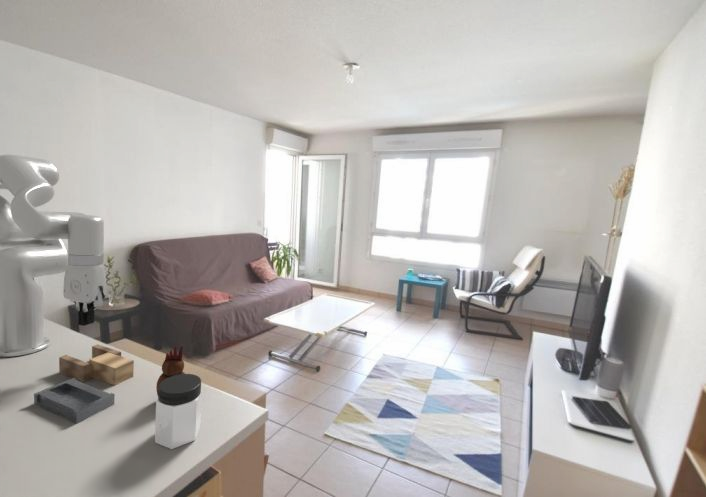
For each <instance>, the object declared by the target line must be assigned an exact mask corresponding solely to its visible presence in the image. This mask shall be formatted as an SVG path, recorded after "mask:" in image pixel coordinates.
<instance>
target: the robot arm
mask: <svg viewBox="0 0 706 497" xmlns="http://www.w3.org/2000/svg"><path fill="white" fill-rule="evenodd" d="M59 180H60V172H59V170H58V168H57V167H56V166H55V165H54V163H52V162H50V161H48V160H46V159H43V158H36V157H30V156H23V155H16V154H1V155H0V190H8V191H9V192H10V193H11V194H12V196H13V198H12V200H11V202H10V201H8V200H7V199H6V198H5V197H3V196H2V195H1V194H0V248H1V250H0V357H5V358H8V357H9V358H10V357H19V356H24V355H28V354H29V355H30V354H34V353H36V352H39V351H43V350H44V349H46V348H48V347H49V346H50V345H51V339H50V338H49V337H47V336H45V335H44V334H45V333H44V327H45V326H44V325H45V324H44V290H43V288H42V287H41V285H39V284H38V282H36V281H35V280H34V278H37V277H38V278H39V277H42V276H43V277H44V276H49V275H50V276H51V275H58V274H62V273H64V276H63V277H64V278H63V279H64V280H63V290H62V291H63V298H65V299H66V300H68V301H70V302H72V303H74V305H75V308H76V311H77V325H79V326H82V327H83V326H84V327H85V326H88V325H92V324H94V323H95V310H96V309H97V307H101V306H104V300H105V299H106V298H107V276H106V271H105V265H104V264H105V263H104V256H105V255H104V253H105V252H104V249H105V248H104V244H105V243H104V239H105V237H104V236H105V235H104V234H105V233H104V230H105V229H104V226H105V224H104V219H103V218H102V217H101V216H98V215H88V214H85V213H81V212H72V211H70V212H69V211H68V212H67V211H39V210H38V209H37V208H38V207H41V206H44V205H45V204H47V203H49V202H50V201H51V200H53V198H54V196H55V189H54V188H55V187H54V186H55V185H56V184H58V183H59ZM63 240H67V247H66V244H65V243H64V241H63ZM3 248H4V249H3Z"/></svg>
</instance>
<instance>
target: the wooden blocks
mask: <svg viewBox="0 0 706 497" xmlns="http://www.w3.org/2000/svg"><path fill="white" fill-rule="evenodd" d="M108 352H109V353H112V354H115V355H118V356H121V357H122V351H120V350H119V351H118V350H116V349H113V348H111V347H107V346H104V345H101V344H97V343H96V344H95V345H91V359H92V358H94V357H97V356H100V355H103V354H105V353H108ZM58 360H59V361H58V362H59V364H58V367H59V368H58V369H59V370H58V371H59V373H60V374H62V375H63V376H64V375H65V376H67V377H70V378H71V379H72V378H75V379H76V381H79V382H82V383H85V382H88V381H89V380H91V376H90V363H89V362H87V361H84V360H82V359H79V358H76V357H74V356H70V355H68V354H65V355H62V356H59V359H58Z"/></svg>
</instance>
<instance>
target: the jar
mask: <svg viewBox="0 0 706 497" xmlns="http://www.w3.org/2000/svg"><path fill="white" fill-rule="evenodd" d="M202 397H203V387H202V379H201V377H200V376H198V375H197V374H193V373H185V374H179V375H175V376H171V377H169V378H167V379H165V380H164V381H162V382H161V383H160V385H159V388H158V395H157V400H155V427H154V428H155V430H154V443H155V444H158V445H160V446H162V447H164V448H167V449H169V450H170V449H171V450H173V449H176V448H179V447H181V446H185V445H186V444H189V443H192V442H195V440H196V439H197V437H198V436H197V435H198V434H199V431H200V428H201V423H202V422H201V420H202V401H203V400H202Z"/></svg>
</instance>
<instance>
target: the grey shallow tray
mask: <svg viewBox="0 0 706 497" xmlns="http://www.w3.org/2000/svg"><path fill="white" fill-rule="evenodd" d="M33 404H34V406H35V405H36V406H38V407H40V408H42V409H44V410H47V411H48V412H51V413H53V414H55V415H57V416H59V417H61V418H63V419H66V420H69V421H70V422H72V423H75V424H78V423H81V422H82V421H84V420H86V419H88V418H90V417H92V416H94V415H96V414H98V413H99V412H102V411H104V410H105V409H108V408H109V407H111V406H113V405H115V393H113V392H111V393H109V392H107V391H104V390H102V389H98V388H97V387H94V386H93V385H89V384H87V383H85V382H82V381H79V380H77V379H75V378H72V377H71V378H70V379H67V380H65V381H63V382H61V383H57V384H54V385H52V386H50V387H48V388H44V389H43V390H40V391H37V392H35V393H34V394H33Z"/></svg>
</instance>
